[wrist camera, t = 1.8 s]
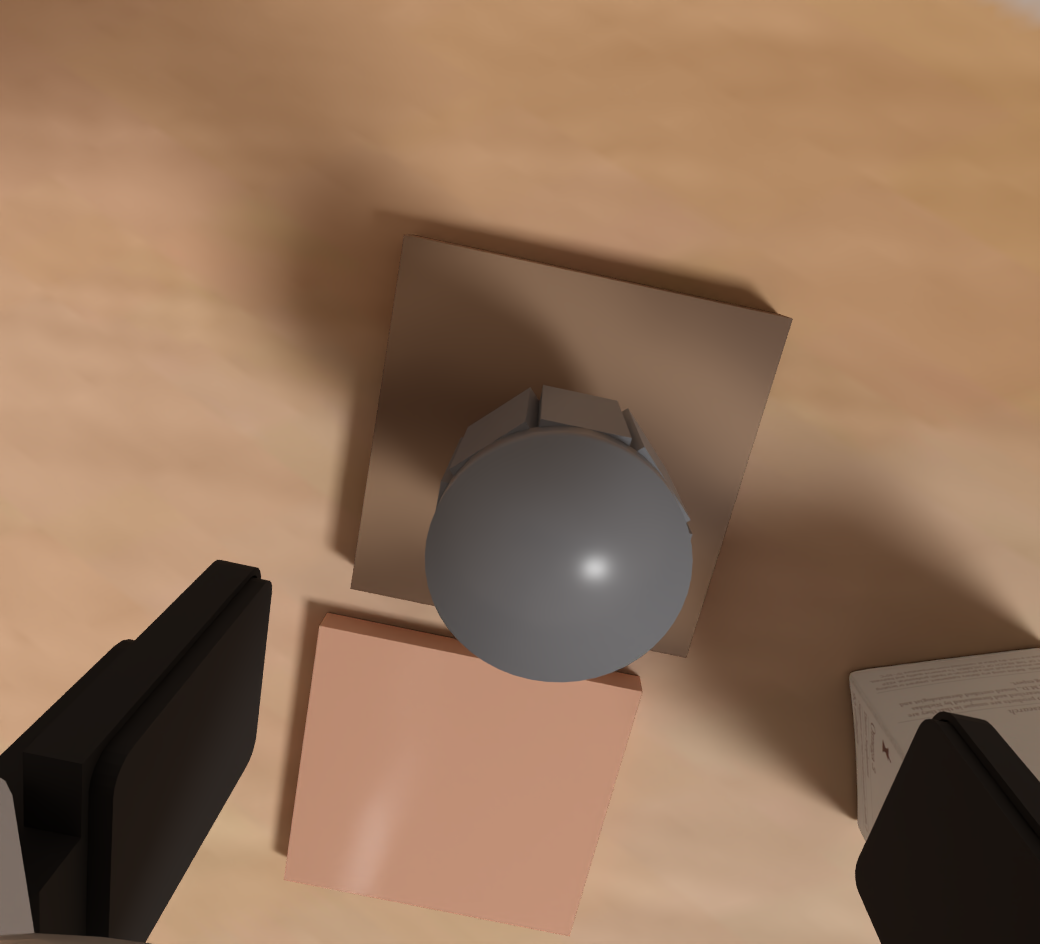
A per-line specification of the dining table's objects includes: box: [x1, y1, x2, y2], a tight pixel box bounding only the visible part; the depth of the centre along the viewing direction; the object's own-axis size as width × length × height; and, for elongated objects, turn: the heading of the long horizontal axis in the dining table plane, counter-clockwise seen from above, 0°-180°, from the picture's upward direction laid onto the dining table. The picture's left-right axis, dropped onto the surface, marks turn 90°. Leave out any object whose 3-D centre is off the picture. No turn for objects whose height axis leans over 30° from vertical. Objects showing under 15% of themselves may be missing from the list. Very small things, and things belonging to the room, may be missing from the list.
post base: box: [350, 235, 793, 658], centre depth 22 cm, size 12×12×8 cm
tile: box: [284, 613, 642, 936], centre depth 30 cm, size 12×12×1 cm
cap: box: [425, 385, 693, 682], centre depth 19 cm, size 6×6×5 cm
